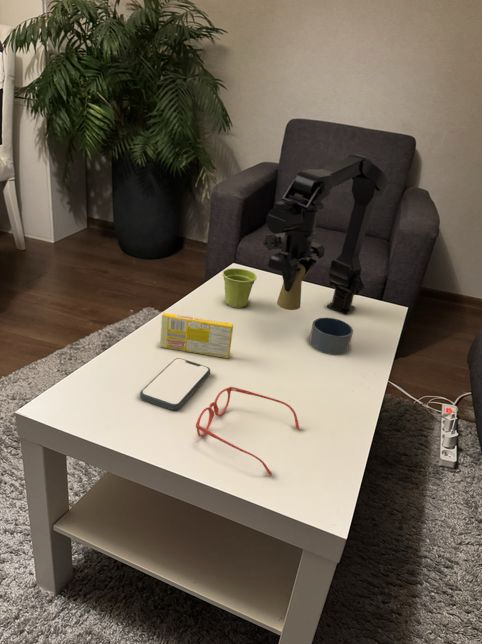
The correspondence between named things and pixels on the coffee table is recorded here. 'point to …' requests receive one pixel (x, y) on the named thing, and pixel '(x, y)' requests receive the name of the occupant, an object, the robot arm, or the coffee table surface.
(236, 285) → the plant pot
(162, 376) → the smartphone
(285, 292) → the brown cylinder with knob
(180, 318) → the candy box
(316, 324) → the blue-grey round bowl
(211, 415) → the red eyeglasses
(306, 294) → the coffee table surface
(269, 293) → the coffee table surface
